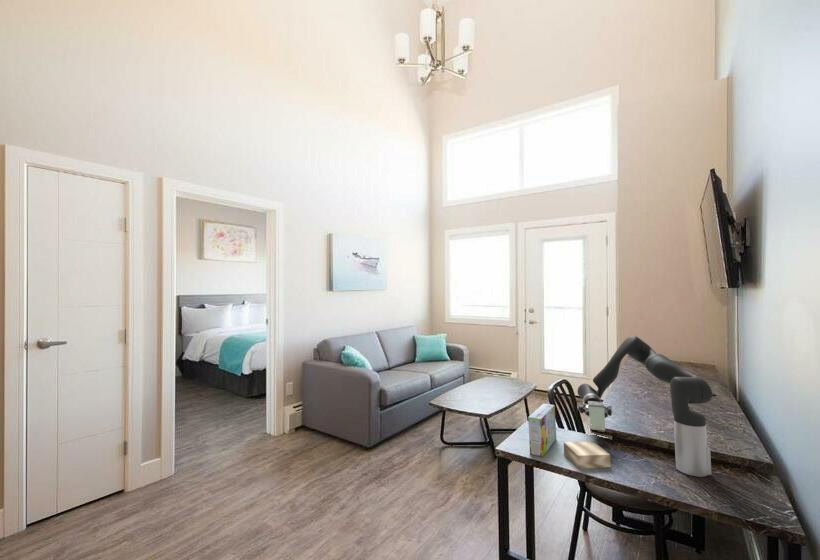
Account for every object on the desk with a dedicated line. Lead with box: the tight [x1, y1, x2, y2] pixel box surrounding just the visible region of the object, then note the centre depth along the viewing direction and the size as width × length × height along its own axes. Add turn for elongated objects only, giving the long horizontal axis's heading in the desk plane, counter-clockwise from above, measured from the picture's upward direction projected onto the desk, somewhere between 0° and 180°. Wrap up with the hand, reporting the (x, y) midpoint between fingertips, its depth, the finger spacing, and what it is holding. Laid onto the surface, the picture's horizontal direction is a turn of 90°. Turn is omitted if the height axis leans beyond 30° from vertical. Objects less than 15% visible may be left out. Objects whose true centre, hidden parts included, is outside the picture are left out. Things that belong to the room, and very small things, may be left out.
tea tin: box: [587, 401, 606, 432], centre depth 153 cm, size 6×6×10 cm
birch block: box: [563, 440, 611, 469], centre depth 141 cm, size 12×12×5 cm
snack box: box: [527, 403, 557, 458], centre depth 154 cm, size 21×6×15 cm, turn 144°
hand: (596, 414), depth 151 cm, fingers closed on tea tin, 5 cm apart
